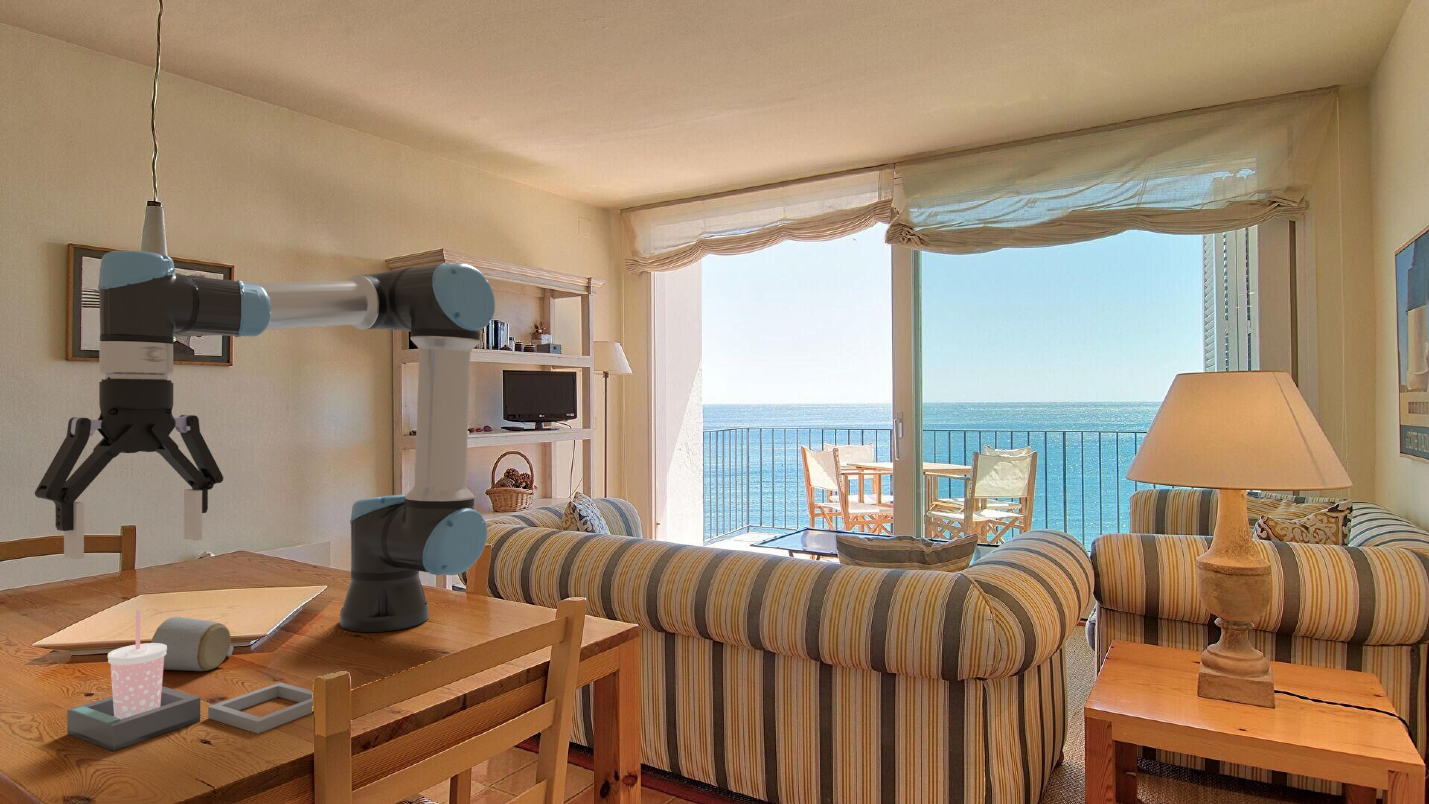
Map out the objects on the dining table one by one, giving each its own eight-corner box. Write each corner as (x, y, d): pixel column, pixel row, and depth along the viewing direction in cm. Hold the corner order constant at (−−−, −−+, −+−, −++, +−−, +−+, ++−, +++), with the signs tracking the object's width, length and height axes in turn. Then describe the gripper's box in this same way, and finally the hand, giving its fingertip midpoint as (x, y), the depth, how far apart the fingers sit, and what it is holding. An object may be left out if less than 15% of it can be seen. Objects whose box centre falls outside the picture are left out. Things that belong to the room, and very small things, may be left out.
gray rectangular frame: (280, 692, 113) (280, 682, 113) (328, 706, 109) (328, 695, 109) (208, 718, 104) (208, 706, 104) (257, 733, 100) (257, 721, 100)
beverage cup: (114, 716, 103) (114, 606, 103) (171, 709, 105) (172, 602, 105) (100, 735, 97) (101, 619, 97) (161, 727, 100) (162, 614, 100)
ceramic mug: (201, 678, 119) (202, 625, 119) (147, 676, 119) (149, 623, 119) (247, 656, 129) (248, 608, 129) (198, 654, 130) (199, 606, 130)
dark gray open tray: (154, 706, 108) (154, 682, 108) (200, 720, 103) (200, 695, 103) (67, 734, 99) (67, 708, 99) (113, 751, 95) (113, 724, 94)
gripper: (32, 375, 88) (32, 570, 88) (252, 379, 110) (252, 535, 111) (-3, 375, 91) (-2, 563, 92) (218, 379, 114) (218, 530, 114)
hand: (136, 548), depth 101 cm, fingers open, 13 cm apart
